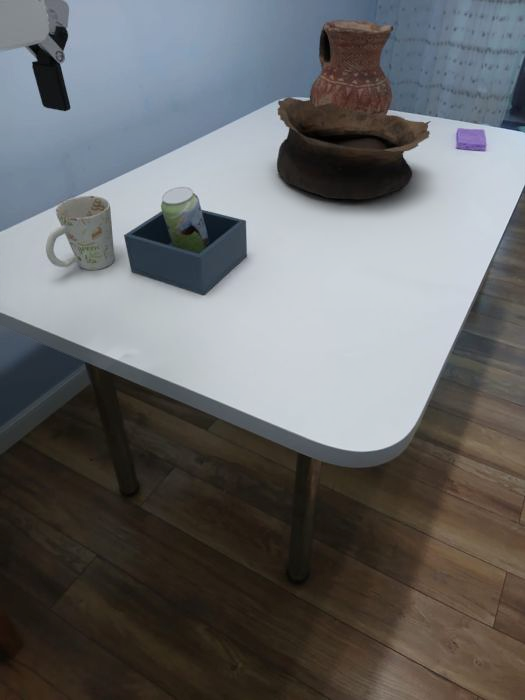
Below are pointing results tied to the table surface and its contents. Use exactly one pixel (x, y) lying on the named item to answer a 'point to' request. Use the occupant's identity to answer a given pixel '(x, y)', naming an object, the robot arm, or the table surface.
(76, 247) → the mug
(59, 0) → the robot arm
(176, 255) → the bin
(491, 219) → the table surface
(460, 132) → the sponge
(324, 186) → the bowl
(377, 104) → the jug
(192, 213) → the beverage can
